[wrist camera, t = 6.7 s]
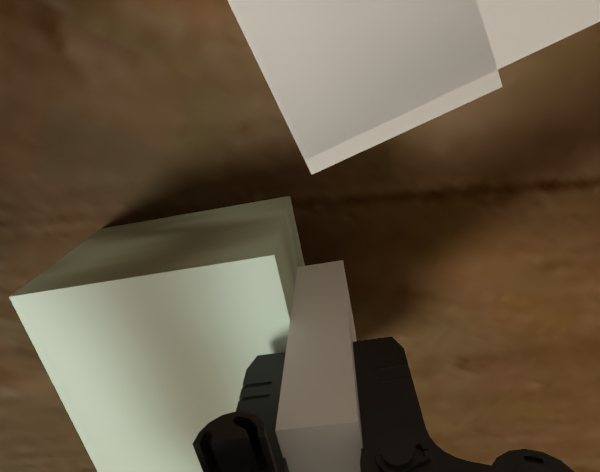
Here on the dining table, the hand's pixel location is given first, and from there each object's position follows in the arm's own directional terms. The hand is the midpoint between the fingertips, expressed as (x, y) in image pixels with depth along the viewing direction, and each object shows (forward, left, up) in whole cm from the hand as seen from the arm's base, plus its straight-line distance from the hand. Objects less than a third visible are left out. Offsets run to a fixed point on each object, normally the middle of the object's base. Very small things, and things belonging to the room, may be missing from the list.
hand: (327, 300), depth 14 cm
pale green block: (-4, 0, -2) cm, 5 cm away
